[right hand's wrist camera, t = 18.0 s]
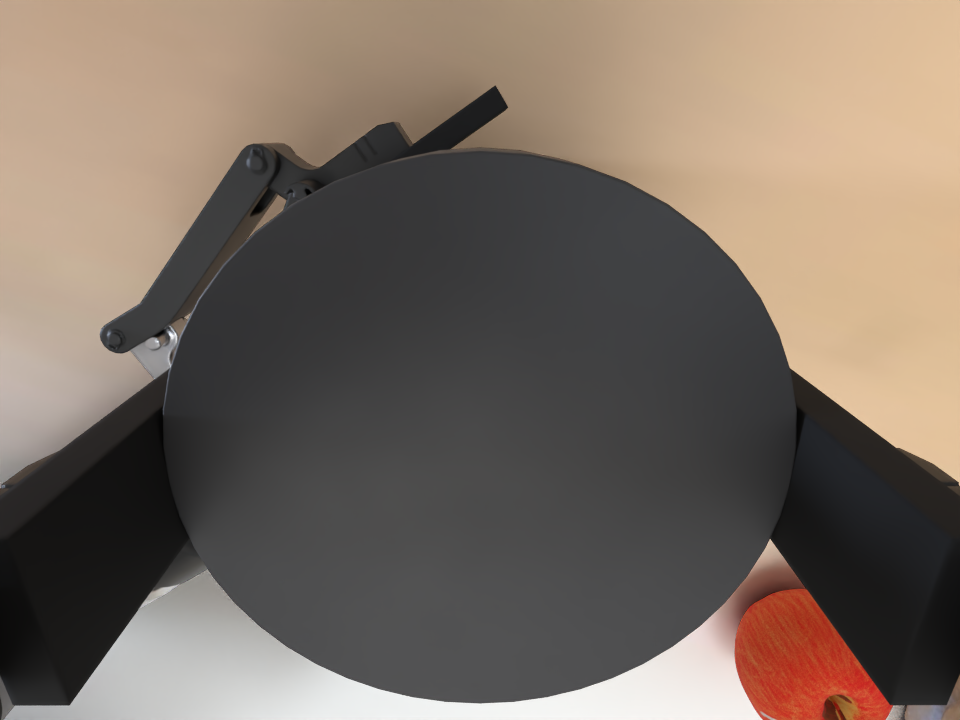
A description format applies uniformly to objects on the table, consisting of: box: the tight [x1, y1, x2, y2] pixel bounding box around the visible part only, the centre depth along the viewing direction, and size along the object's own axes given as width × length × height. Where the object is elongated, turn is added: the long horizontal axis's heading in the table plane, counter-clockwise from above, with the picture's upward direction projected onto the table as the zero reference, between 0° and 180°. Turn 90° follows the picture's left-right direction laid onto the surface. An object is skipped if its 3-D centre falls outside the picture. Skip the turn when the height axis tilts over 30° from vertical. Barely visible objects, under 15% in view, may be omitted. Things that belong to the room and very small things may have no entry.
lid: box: [163, 148, 797, 703], centre depth 11 cm, size 11×11×2 cm
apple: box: [735, 589, 893, 720], centre depth 32 cm, size 8×8×8 cm
